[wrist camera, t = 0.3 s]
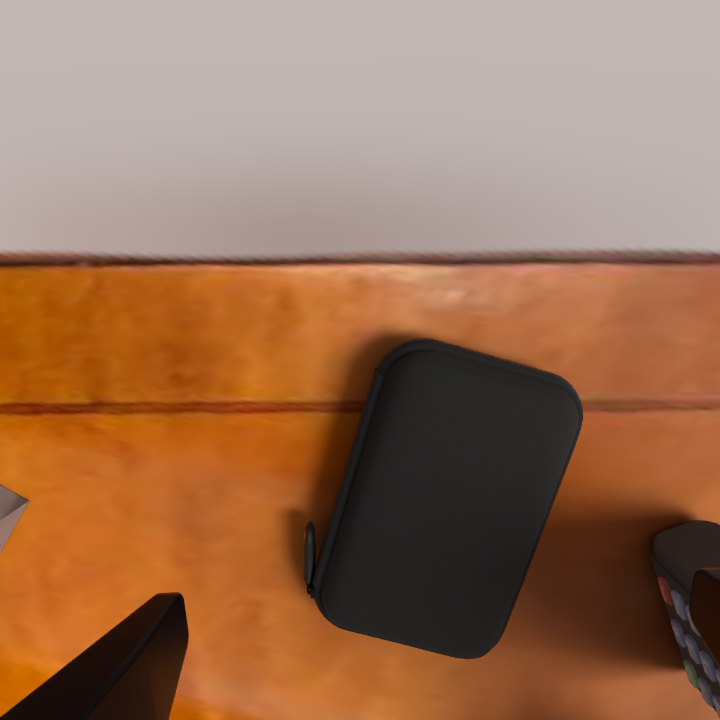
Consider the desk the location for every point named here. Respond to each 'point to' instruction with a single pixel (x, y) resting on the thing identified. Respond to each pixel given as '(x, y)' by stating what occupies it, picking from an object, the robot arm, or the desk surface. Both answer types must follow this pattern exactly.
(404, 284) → the desk surface
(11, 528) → the organizer
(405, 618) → the carrying case or bag
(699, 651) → the card reader
